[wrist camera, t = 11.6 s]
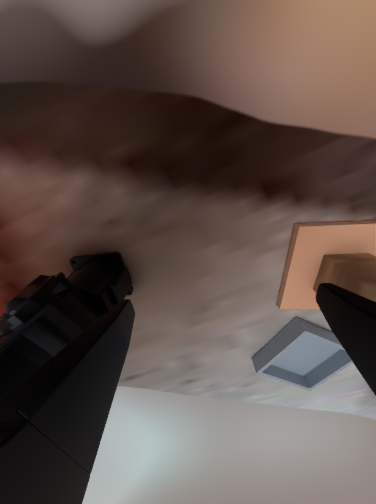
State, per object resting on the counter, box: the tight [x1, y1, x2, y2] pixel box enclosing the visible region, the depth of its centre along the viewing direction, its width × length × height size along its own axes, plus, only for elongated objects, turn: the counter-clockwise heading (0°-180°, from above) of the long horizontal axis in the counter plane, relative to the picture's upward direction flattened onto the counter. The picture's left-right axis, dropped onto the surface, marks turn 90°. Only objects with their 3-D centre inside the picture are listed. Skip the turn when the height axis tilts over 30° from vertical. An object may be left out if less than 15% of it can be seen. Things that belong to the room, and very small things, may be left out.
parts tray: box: [252, 317, 353, 391], centre depth 29 cm, size 11×11×2 cm
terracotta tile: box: [277, 220, 376, 310], centre depth 22 cm, size 12×12×1 cm
